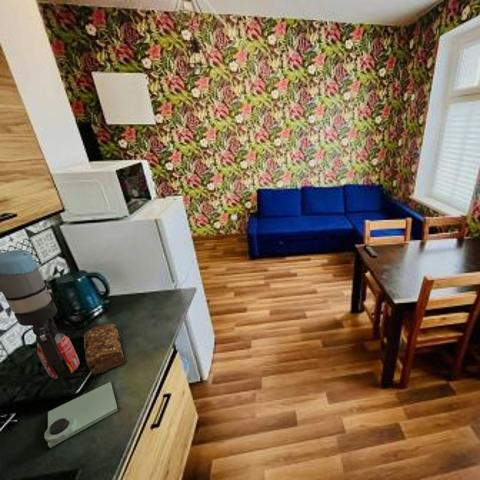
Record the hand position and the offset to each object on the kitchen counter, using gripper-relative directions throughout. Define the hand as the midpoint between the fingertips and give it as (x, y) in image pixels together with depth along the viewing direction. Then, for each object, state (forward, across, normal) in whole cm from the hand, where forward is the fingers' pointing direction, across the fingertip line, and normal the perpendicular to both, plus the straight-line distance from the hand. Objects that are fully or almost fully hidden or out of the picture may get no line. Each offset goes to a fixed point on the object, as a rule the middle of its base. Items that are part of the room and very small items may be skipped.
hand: (64, 368), depth 80 cm
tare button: (+14, -7, +5) cm, 17 cm away
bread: (+17, +20, -9) cm, 28 cm away
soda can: (+1, 0, 0) cm, 1 cm away
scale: (+17, -3, 0) cm, 17 cm away
